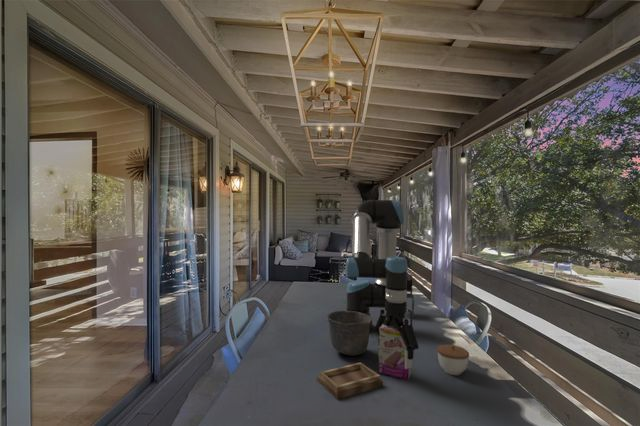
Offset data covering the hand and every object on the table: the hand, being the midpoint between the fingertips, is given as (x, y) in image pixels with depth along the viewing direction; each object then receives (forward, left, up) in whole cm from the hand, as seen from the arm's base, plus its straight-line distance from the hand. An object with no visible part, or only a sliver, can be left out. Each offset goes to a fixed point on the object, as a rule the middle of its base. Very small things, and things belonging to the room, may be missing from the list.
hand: (394, 360), depth 116 cm
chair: (-53, -53, -5) cm, 75 cm away
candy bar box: (0, 0, -5) cm, 5 cm away
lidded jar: (-21, +8, -5) cm, 23 cm away
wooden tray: (+18, -2, -5) cm, 19 cm away
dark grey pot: (+5, -22, -5) cm, 23 cm away
